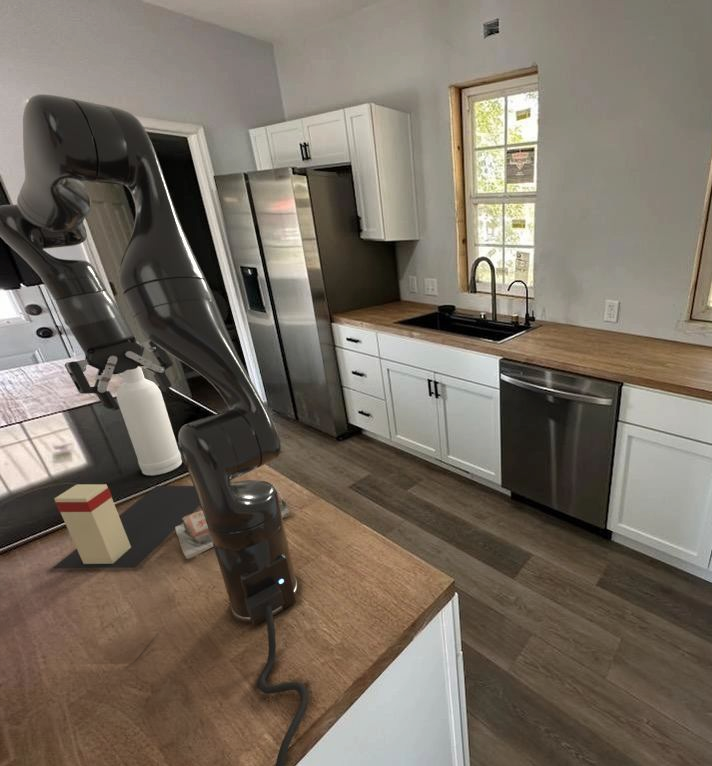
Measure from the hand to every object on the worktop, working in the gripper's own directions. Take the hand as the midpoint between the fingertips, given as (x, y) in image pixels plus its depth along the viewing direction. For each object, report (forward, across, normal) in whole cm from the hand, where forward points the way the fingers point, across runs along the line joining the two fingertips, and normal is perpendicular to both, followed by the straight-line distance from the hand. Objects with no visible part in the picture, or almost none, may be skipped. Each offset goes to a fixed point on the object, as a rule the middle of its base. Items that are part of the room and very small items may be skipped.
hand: (142, 399), depth 80 cm
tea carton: (+24, -16, -2) cm, 29 cm away
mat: (+24, -8, +3) cm, 25 cm away
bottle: (+20, +3, +23) cm, 31 cm away
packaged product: (+28, 0, -12) cm, 31 cm away
